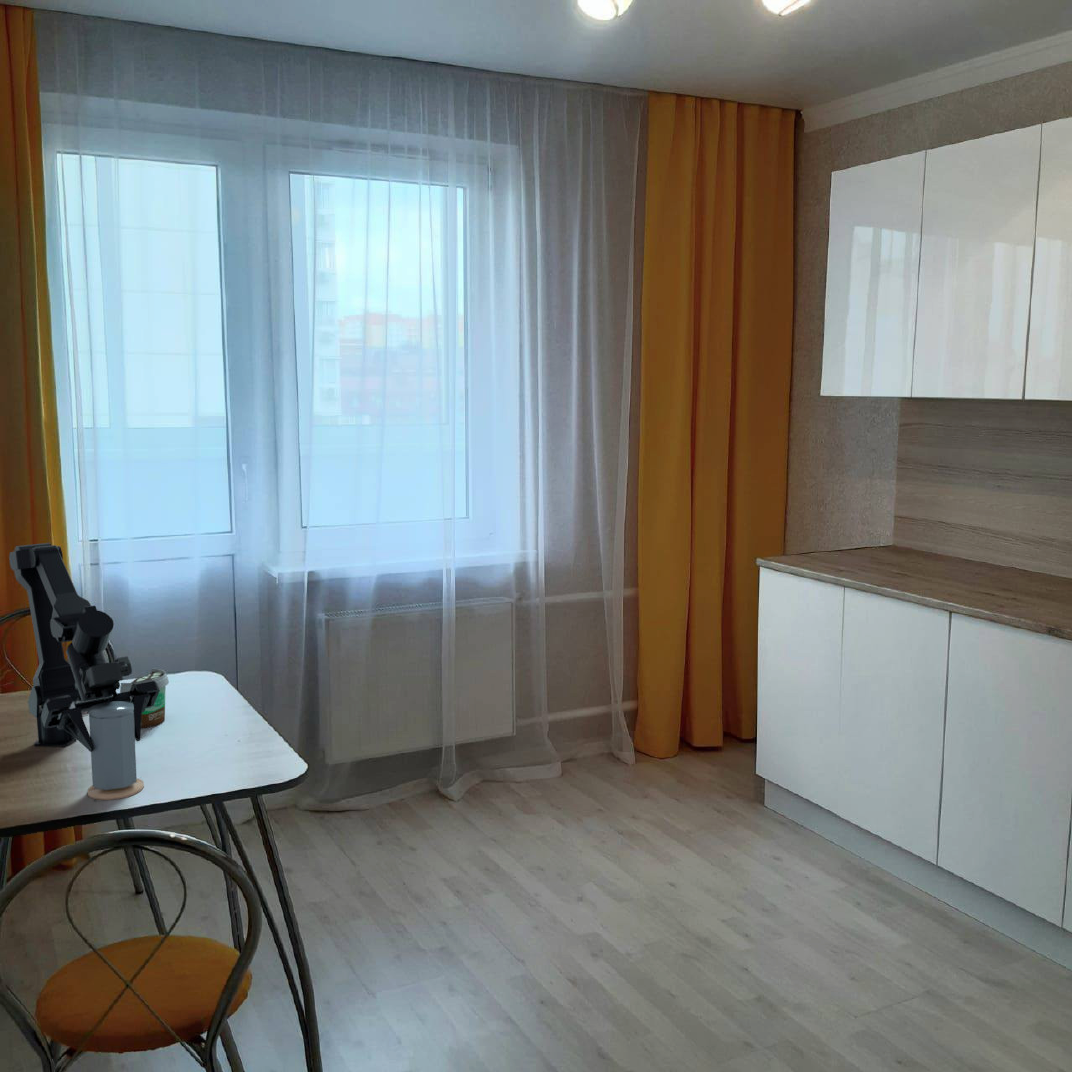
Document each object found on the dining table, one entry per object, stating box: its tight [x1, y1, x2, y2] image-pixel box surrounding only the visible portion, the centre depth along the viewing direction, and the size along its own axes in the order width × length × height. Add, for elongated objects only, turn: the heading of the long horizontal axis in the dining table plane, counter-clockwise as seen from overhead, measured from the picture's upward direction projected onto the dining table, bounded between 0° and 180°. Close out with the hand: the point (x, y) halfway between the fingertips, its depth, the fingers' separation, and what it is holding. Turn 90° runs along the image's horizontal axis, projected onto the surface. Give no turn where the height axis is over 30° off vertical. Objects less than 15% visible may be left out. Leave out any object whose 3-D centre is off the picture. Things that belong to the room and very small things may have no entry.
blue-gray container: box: [87, 701, 138, 790], centre depth 183 cm, size 7×7×13 cm
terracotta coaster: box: [87, 778, 145, 801], centre depth 184 cm, size 9×9×1 cm
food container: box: [119, 667, 170, 730], centre depth 219 cm, size 12×6×10 cm, turn 168°
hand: (115, 745), depth 182 cm, fingers closed on blue-gray container, 7 cm apart
